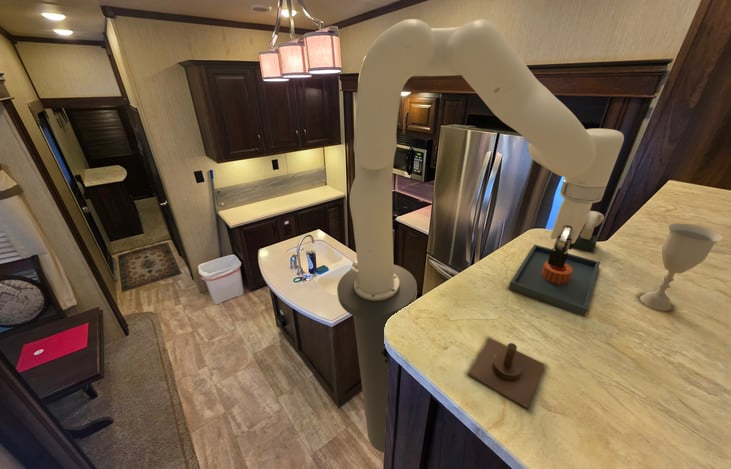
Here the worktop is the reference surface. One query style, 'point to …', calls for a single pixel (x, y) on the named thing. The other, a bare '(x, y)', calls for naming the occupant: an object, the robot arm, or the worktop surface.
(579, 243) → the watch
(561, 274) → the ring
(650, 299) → the chalice
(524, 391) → the stand
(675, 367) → the worktop surface
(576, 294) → the tray
